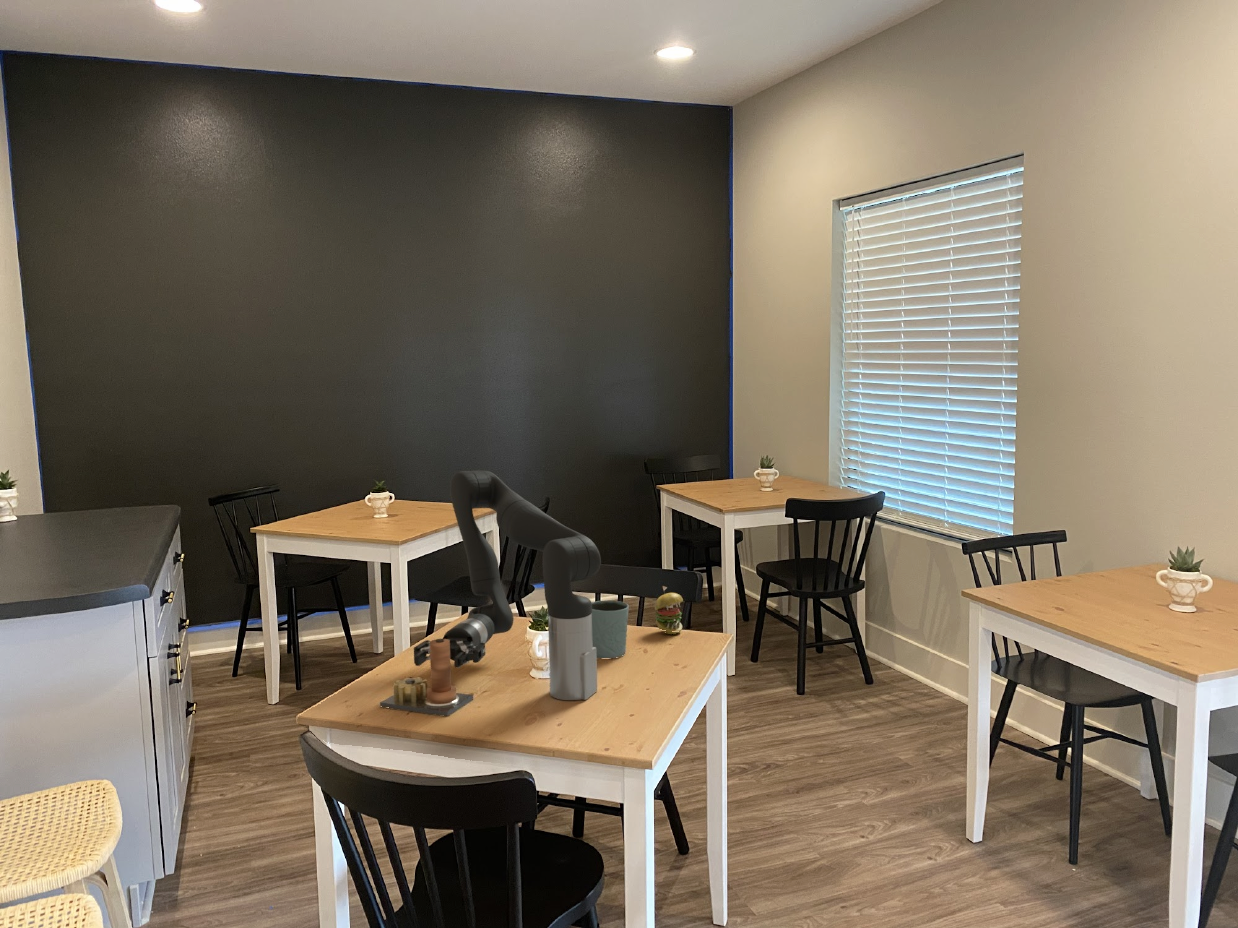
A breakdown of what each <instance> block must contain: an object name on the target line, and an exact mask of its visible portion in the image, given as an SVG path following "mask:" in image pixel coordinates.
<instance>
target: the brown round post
mask: <svg viewBox="0 0 1238 928" xmlns="http://www.w3.org/2000/svg"><path fill="white" fill-rule="evenodd" d="M429 641H430V654H429V655H430V660H429V661H430V662H429V663H430V687H427V690H426V694H427V702H429V703H432V704H445V703H449V702H452V701H454V700H456V693H457V687H456V686H455V685H452V670H451V668H452V667H451V659H450V640H448V639H443V638H437V639H432V640H429Z"/></svg>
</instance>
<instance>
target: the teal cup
mask: <svg viewBox="0 0 1238 928" xmlns="http://www.w3.org/2000/svg"><path fill="white" fill-rule="evenodd" d="M591 603H592V641H593V647H596V655H597V658H616V657H620V658H622V657H623V656H622V655H624V654H625V655H626V651H627V650H626V649H627V636H628V634H627V633H628V621H629V619H628V617H629V609H630V607H629V606H630V605H629V604H628V603H626V602H624V601H619V600H597V601H591ZM625 655H624V656H625ZM621 656H622V657H621ZM616 659H617V658H616Z"/></svg>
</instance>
